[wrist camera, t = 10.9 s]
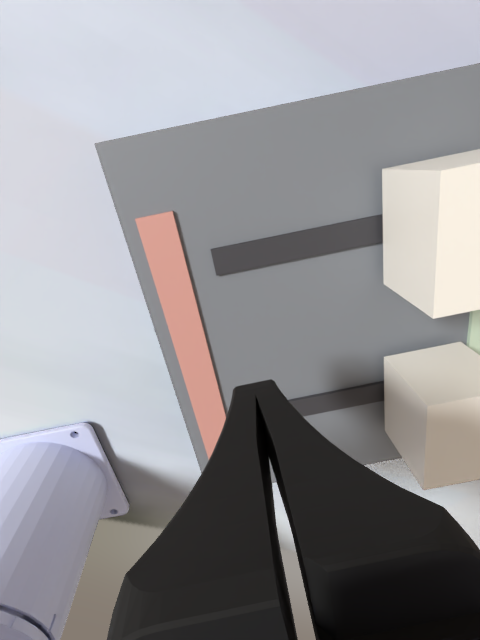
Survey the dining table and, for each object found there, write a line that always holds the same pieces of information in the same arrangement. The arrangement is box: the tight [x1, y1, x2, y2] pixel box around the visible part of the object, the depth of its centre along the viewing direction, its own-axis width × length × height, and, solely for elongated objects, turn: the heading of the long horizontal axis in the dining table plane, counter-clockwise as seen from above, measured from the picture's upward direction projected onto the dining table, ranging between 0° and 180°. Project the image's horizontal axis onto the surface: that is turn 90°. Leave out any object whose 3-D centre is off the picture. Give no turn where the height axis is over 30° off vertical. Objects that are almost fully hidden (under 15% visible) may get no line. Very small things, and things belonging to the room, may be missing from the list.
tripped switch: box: [382, 149, 480, 319], centre depth 13 cm, size 4×5×4 cm
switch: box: [384, 342, 480, 490], centre depth 17 cm, size 4×5×4 cm
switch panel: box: [95, 63, 480, 483], centre depth 18 cm, size 18×20×2 cm
